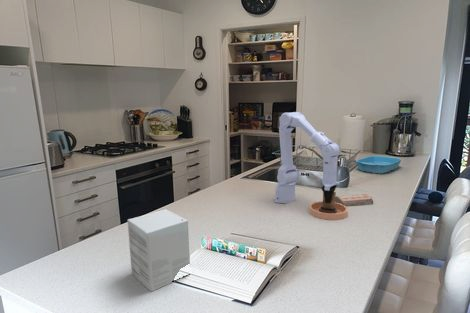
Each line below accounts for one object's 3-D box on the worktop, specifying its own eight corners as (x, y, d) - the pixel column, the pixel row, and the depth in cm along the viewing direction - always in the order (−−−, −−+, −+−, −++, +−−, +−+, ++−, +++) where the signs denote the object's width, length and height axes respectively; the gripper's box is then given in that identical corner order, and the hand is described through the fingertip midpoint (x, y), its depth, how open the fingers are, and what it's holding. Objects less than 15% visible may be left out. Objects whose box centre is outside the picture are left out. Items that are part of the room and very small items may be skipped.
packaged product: (365, 191, 159) (376, 198, 149) (364, 201, 160) (375, 208, 150) (330, 194, 156) (340, 200, 147) (330, 203, 157) (339, 210, 148)
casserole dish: (373, 162, 243) (374, 153, 242) (405, 167, 227) (405, 157, 226) (350, 171, 218) (350, 161, 217) (383, 177, 203) (384, 166, 201)
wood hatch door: (322, 207, 141) (323, 192, 139) (323, 205, 143) (324, 190, 142) (334, 209, 139) (335, 193, 137) (334, 207, 141) (335, 192, 140)
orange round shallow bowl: (306, 218, 138) (306, 211, 137) (312, 206, 152) (313, 199, 151) (345, 224, 131) (345, 216, 131) (348, 211, 146) (348, 203, 145)
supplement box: (169, 258, 106) (166, 208, 103) (191, 274, 97) (189, 220, 93) (130, 273, 98) (126, 219, 94) (150, 292, 88) (146, 233, 85)
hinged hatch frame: (318, 213, 141) (318, 209, 140) (320, 209, 145) (320, 205, 145) (335, 215, 138) (336, 211, 138) (337, 212, 142) (337, 207, 142)
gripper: (337, 176, 130) (336, 208, 132) (341, 168, 143) (339, 197, 145) (319, 174, 132) (318, 206, 135) (325, 167, 146) (323, 196, 148)
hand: (328, 201), depth 140 cm, fingers closed on wood hatch door, 2 cm apart
